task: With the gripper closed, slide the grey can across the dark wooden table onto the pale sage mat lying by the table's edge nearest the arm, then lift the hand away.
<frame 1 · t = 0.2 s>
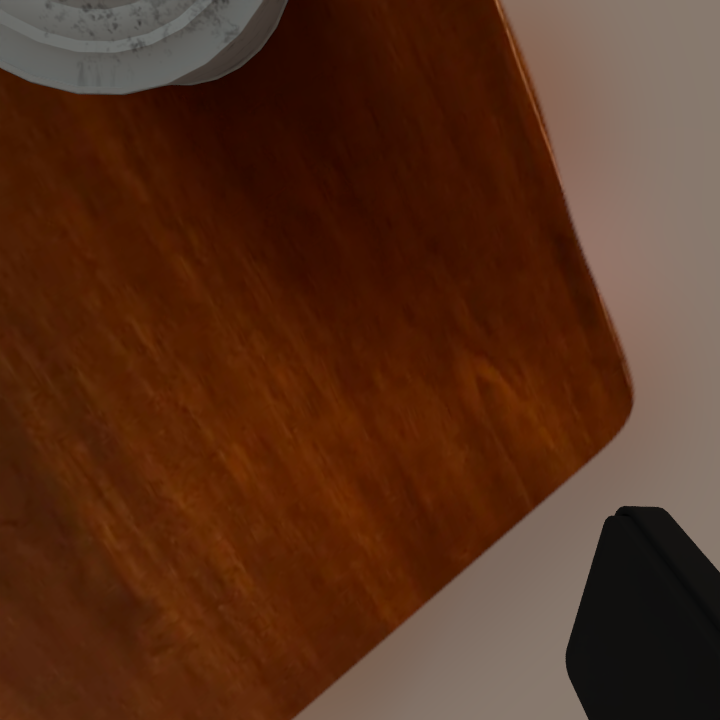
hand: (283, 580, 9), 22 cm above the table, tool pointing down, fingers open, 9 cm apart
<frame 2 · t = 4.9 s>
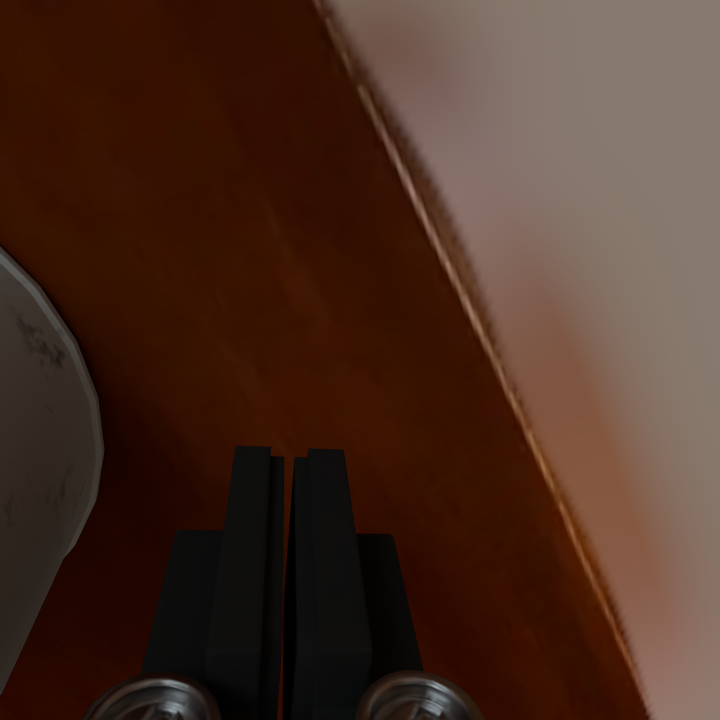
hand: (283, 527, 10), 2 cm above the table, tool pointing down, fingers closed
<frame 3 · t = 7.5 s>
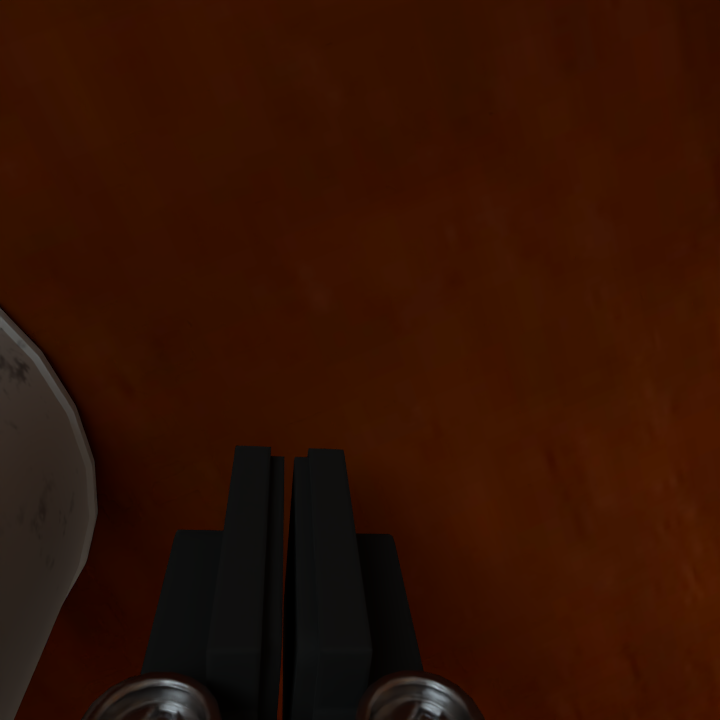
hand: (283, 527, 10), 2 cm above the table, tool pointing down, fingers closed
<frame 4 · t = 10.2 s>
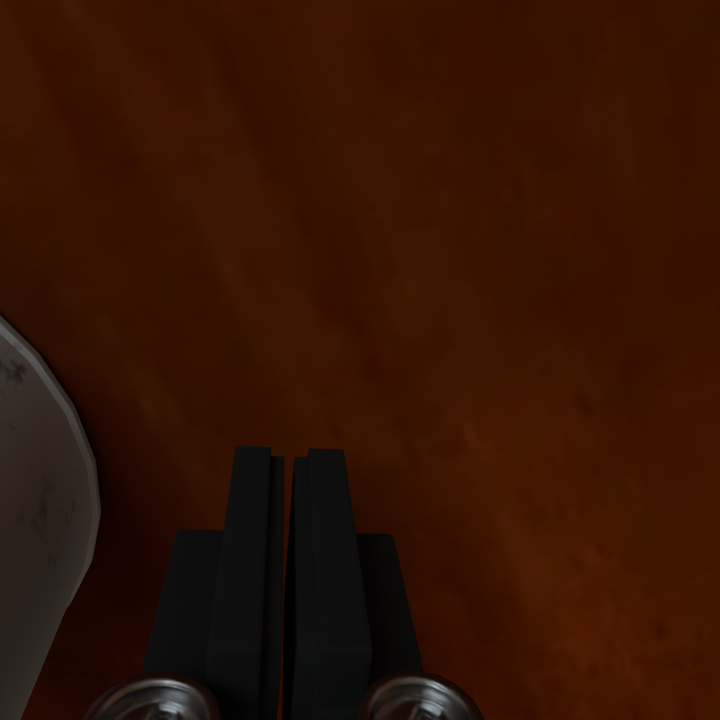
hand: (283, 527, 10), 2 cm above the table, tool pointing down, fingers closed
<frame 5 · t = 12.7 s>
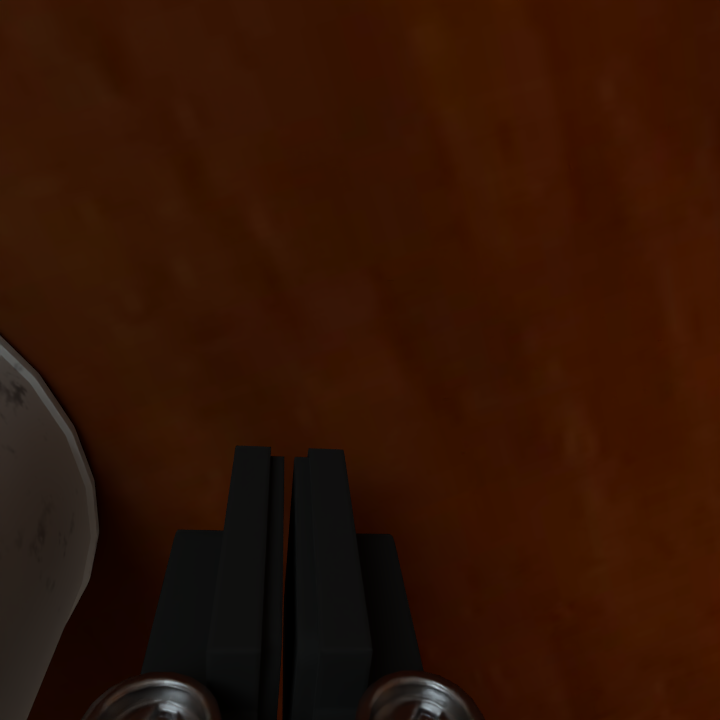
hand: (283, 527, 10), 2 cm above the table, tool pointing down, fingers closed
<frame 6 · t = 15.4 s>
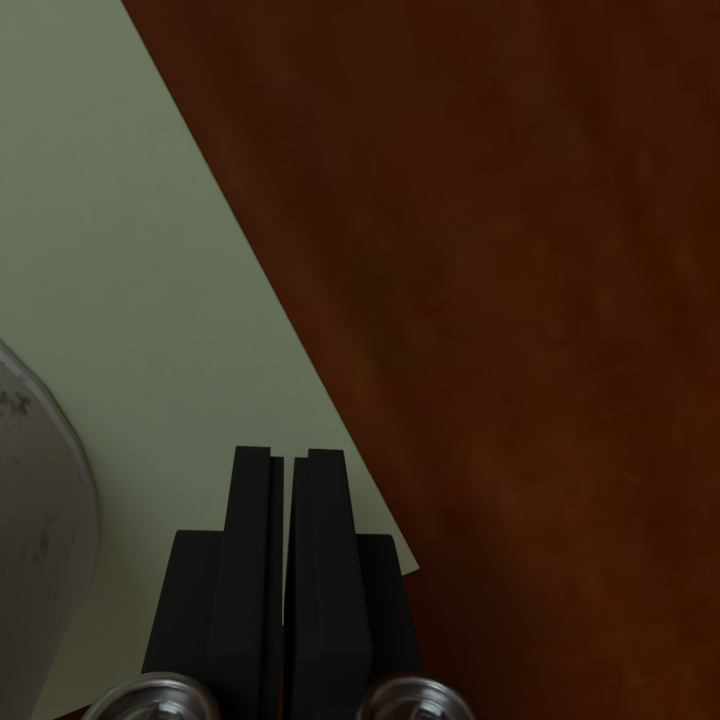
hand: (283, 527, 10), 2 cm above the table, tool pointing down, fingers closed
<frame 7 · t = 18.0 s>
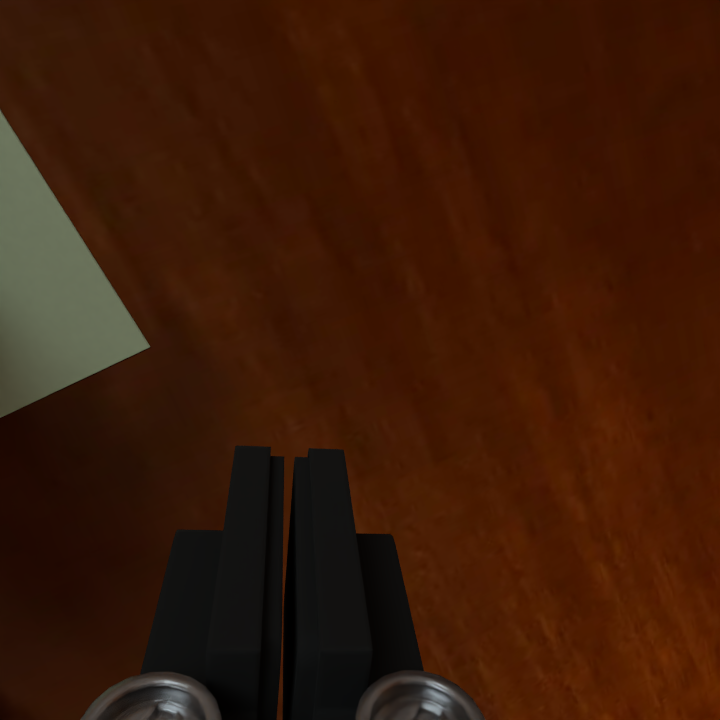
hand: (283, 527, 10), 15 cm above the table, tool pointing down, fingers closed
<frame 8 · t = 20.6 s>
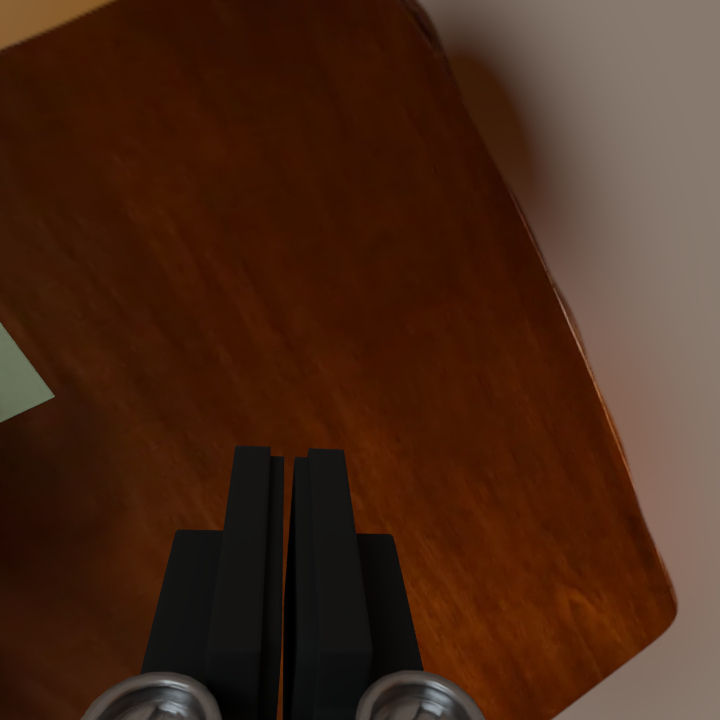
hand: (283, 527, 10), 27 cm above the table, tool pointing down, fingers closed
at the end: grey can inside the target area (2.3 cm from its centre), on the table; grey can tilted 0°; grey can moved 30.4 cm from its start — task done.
